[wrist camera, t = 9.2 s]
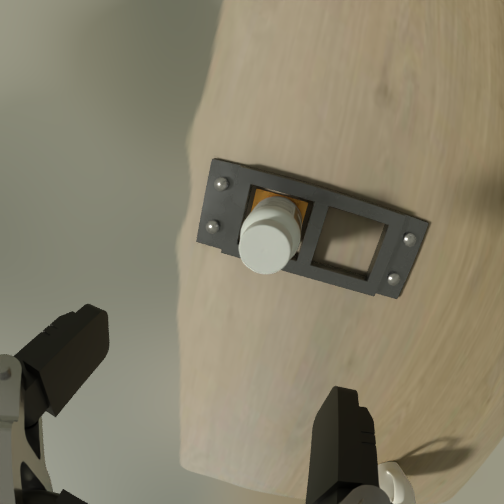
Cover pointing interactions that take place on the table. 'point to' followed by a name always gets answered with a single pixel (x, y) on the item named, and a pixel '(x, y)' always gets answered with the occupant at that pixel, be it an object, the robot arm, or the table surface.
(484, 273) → the table surface
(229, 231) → the metal frame plate
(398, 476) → the mug
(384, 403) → the table surface
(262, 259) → the pill bottle
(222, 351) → the table surface
